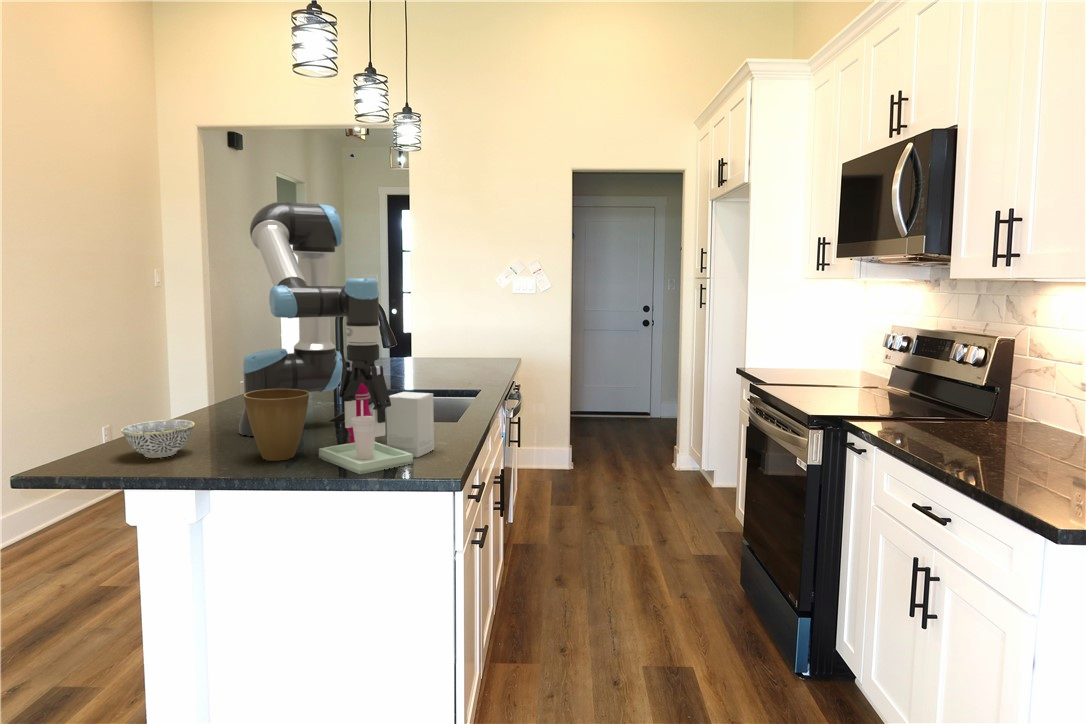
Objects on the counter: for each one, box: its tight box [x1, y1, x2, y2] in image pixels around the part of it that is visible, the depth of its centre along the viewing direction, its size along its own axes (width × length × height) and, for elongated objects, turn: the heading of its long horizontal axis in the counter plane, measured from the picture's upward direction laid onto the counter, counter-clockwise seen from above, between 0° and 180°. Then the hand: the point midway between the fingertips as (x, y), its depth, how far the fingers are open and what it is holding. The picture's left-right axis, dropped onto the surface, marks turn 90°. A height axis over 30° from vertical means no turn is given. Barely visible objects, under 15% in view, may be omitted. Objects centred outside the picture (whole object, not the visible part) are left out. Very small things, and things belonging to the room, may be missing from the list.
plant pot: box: [243, 389, 310, 462], centre depth 175 cm, size 15×15×16 cm
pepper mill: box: [346, 383, 373, 444], centre depth 191 cm, size 7×7×20 cm
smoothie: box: [351, 400, 376, 459], centre depth 172 cm, size 6×6×14 cm
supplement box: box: [386, 391, 435, 458], centre depth 181 cm, size 9×9×15 cm
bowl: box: [120, 419, 196, 458], centre depth 176 cm, size 16×16×8 cm
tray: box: [318, 441, 414, 475], centre depth 173 cm, size 20×14×2 cm
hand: (364, 431), depth 173 cm, fingers open, 13 cm apart
